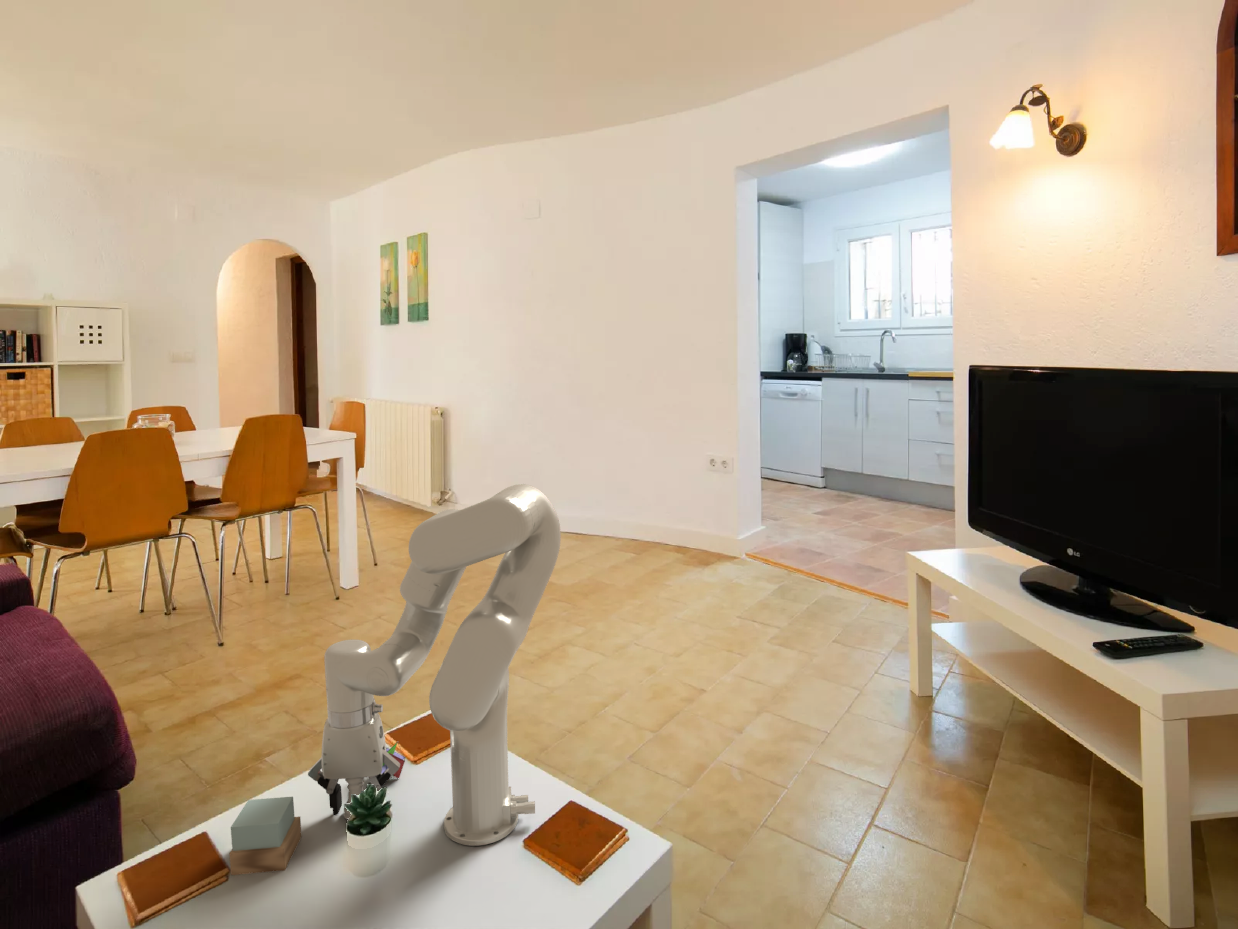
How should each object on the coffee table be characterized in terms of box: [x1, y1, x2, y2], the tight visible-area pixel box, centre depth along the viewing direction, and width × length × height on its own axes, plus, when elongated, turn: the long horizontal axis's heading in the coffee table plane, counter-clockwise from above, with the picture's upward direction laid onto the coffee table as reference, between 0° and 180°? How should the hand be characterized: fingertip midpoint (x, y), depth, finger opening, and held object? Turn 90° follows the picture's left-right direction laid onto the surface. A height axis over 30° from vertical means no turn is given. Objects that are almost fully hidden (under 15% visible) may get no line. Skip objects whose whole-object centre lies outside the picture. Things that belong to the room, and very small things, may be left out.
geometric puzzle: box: [381, 741, 406, 780], centre depth 134 cm, size 7×7×8 cm
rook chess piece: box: [343, 777, 365, 820], centre depth 122 cm, size 4×4×8 cm
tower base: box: [229, 816, 303, 876], centre depth 112 cm, size 8×8×4 cm
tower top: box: [230, 796, 296, 851], centre depth 112 cm, size 7×7×4 cm
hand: (356, 808), depth 123 cm, fingers open, 5 cm apart
